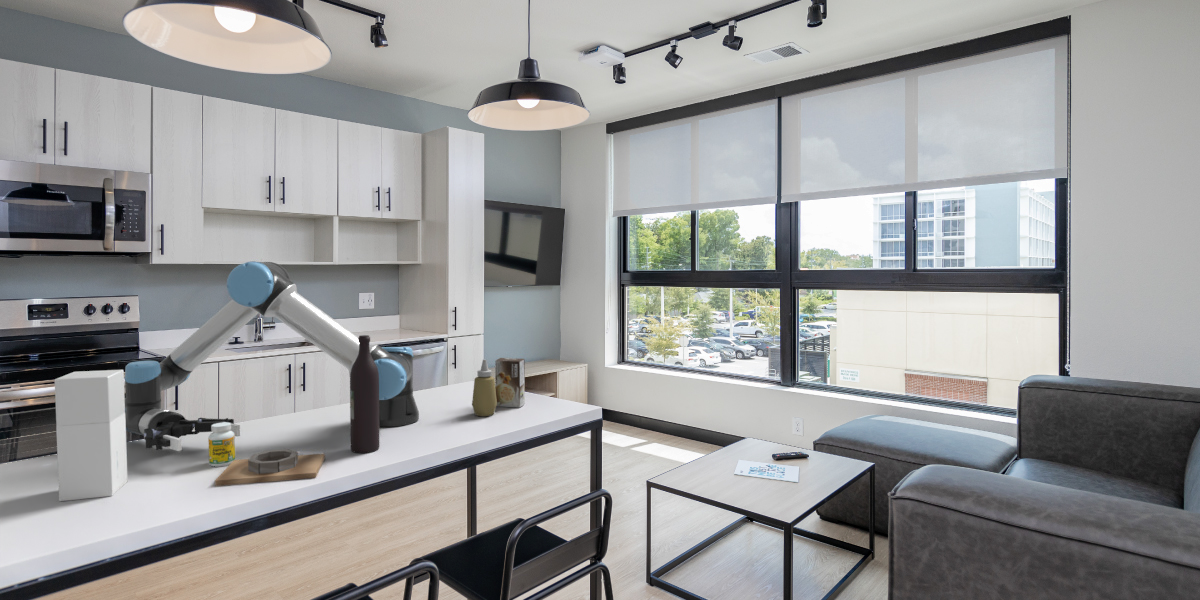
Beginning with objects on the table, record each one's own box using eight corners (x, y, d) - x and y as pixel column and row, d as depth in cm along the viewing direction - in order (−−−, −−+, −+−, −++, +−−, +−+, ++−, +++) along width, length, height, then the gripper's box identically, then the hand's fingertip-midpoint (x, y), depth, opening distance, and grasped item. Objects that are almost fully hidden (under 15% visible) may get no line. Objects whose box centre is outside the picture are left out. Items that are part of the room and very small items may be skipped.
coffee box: (525, 403, 210) (525, 358, 209) (520, 407, 203) (520, 361, 202) (500, 402, 211) (500, 357, 210) (494, 406, 205) (494, 360, 204)
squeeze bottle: (494, 417, 190) (494, 362, 189) (469, 417, 190) (469, 361, 189) (499, 411, 198) (499, 357, 197) (474, 411, 198) (475, 357, 197)
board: (324, 458, 149) (324, 444, 149) (315, 477, 136) (315, 462, 135) (234, 464, 143) (233, 450, 143) (215, 486, 130) (214, 469, 129)
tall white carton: (112, 496, 123) (108, 376, 122) (58, 501, 120) (53, 379, 118) (128, 481, 131) (124, 369, 130) (78, 486, 128) (73, 371, 127)
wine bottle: (366, 443, 161) (365, 333, 159) (385, 447, 158) (384, 335, 156) (344, 451, 155) (343, 336, 153) (364, 455, 152) (363, 338, 150)
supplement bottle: (234, 458, 148) (234, 420, 147) (235, 464, 143) (234, 425, 143) (209, 462, 145) (207, 423, 144) (209, 468, 140) (208, 428, 140)
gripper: (214, 428, 166) (260, 439, 156) (106, 452, 144) (152, 467, 134) (213, 401, 166) (259, 411, 156) (105, 422, 144) (151, 435, 134)
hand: (210, 437), depth 145 cm, fingers open, 13 cm apart
